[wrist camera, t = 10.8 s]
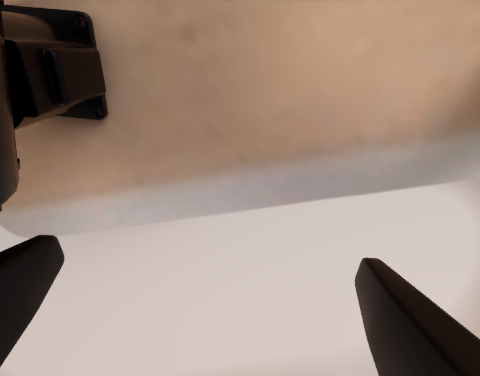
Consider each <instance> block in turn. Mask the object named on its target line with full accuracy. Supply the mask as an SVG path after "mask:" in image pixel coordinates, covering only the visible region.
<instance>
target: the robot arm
mask: <svg viewBox="0 0 480 376" xmlns="http://www.w3.org/2000/svg"><path fill="white" fill-rule="evenodd" d="M81 17H82V18H83V19H84V25H82V24H81V22H80V18H81ZM105 92H106V89H105V83H104V77H103V71H102V65H101V59H100V53H99V51H98V50H97V48H96V42H95V36H94V30H93V25H92V21H91V18H90V17H89V15H87V14H86V13H84V12H80V11H69V10H58V9H46V8H35V7H23V6H11V5H4V2H3V0H0V212H1V211H2V204H3V203H5V202H6V201H7V200H8V199H9V198H10V197H11V196H12V195H13V194H14V193H15V192H16V190H17V186H18V182H19V174H18V171H19V169H20V168H21V167H20V159H19V158H17V150H16V141H15V132H14V130H17V129H19V128H22V127H25V126H28V125H31V124H34V123H36V122H39V121H42V120H45V119H48V118H50V117H53V116H63V117H74V118H85V119H95V120H102V119H104V118H106V117H107V115H108V112H107V106H106V100H105V94H104V93H105ZM97 109H98V110H100V111H101V115H100V114H98V112H97ZM63 263H64V254H63V251H62V249H61V246H60V244H59V241H58V239H57V238H56V237H55V236H53V235H38V236H36V237H33V238H31V239H29V240H27V241H24V242H22V243H20V244H17V245H15V246H13V247H11V248H8V249H6V250H4V251H2V252H0V367H1V365H2V364H3V362H4V361H5V359H6V358H7V356H8V355H9V353H10V352H11V350H12V349H13V347H14V346H15V344H16V343H17V341H18V340H19V338H20V337H21V335H22V334H23V332H24V331H25V329H26V328H27V326H28V324H29V323H30V322H31V320H32V319H33V317H34V315H35V314H36V312H37V311H38V309H39V307H40V305H41V304H42V302H43V300H44V298H45V296H46V294H47V293H48V291H49V289H50V287H51V285H52V284H53V282H54V280H55V278H56V276H57V274H58V273H59V271H60V269H61V267H62V265H63ZM355 287H356V292H357V296H358V301H359V305H360V310H361V315H362V319H363V324H364V328H365V332H366V336H367V340H368V343H369V347H370V350H371V353H372V356H373V359H374V362H375V365H376V368H377V371H378V374H379V376H480V339H479V338H478V337H476V336H475V335H474V334H473V333H471V332H470V331H469V330H468V329H466V328H465V327H464V326H463V325H461V324H460V323H459V322H458V321H456V320H455V319H454V318H452V317H451V316H450V315H449V314H448V313H446V312H445V311H444V310H443V309H441V308H440V307H439V306H437V305H436V304H435V303H434V302H432V301H431V300H430V299H429V298H428V297H426V296H425V295H424V294H423V293H421V292H420V291H418V290H417V289H416V288H415V287H414V286H412V285H411V284H410V283H409V282H407V281H406V280H405V279H404V278H402V277H401V276H400V275H399V274H397V273H396V272H395V271H394V270H392V269H391V268H390V267H389V266H387V265H386V264H385V263H384V262H382V261H381V260H379V259H377V258H363V259H362V261H361V263H360V266H359V269H358V272H357V274H356V277H355Z"/></svg>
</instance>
